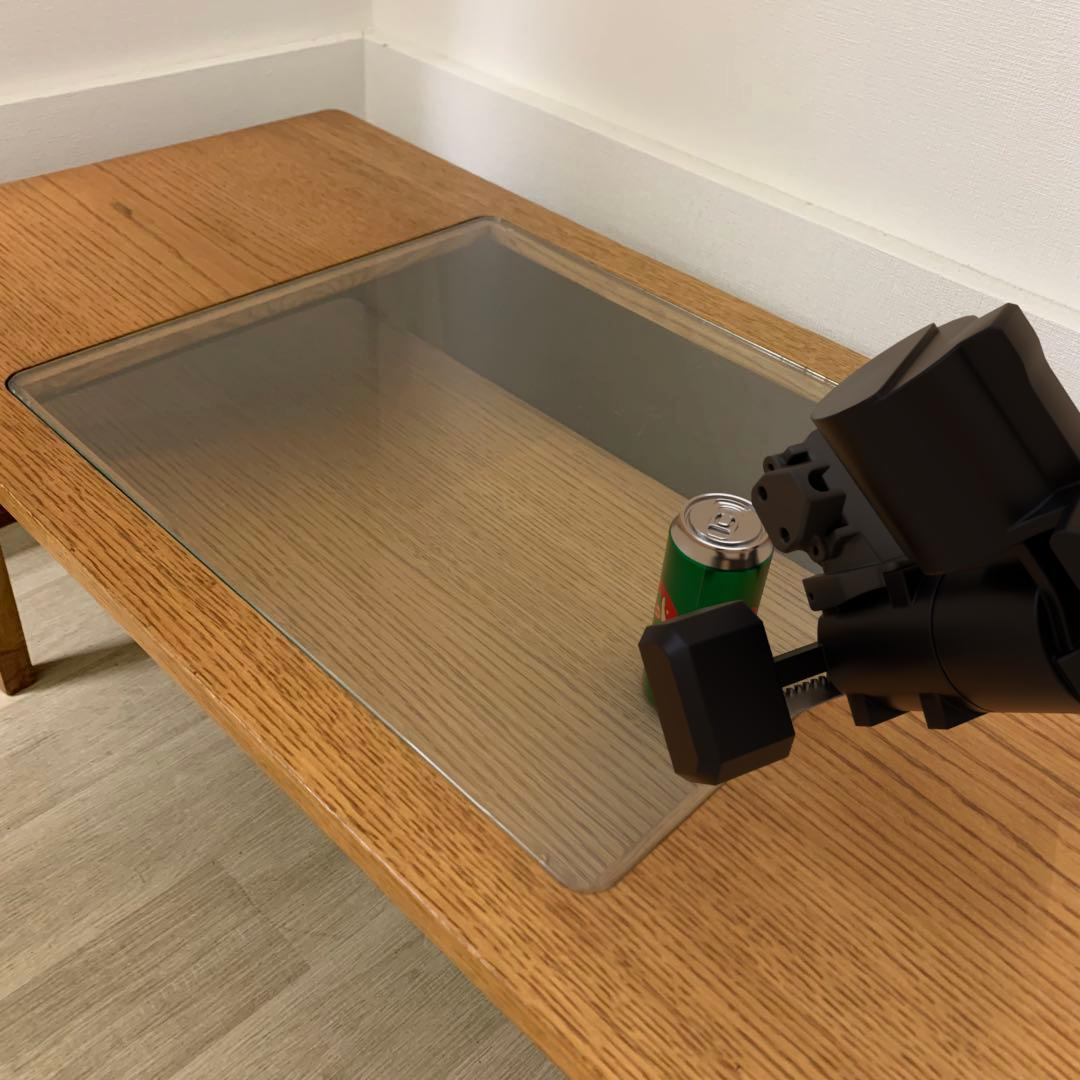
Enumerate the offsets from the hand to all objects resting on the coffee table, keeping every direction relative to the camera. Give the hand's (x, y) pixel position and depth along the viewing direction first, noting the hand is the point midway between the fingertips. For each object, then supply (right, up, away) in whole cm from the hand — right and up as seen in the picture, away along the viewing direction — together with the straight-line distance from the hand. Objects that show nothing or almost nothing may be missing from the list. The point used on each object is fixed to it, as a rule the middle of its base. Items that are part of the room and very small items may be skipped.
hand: (752, 647), depth 53 cm
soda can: (-2, -3, +8) cm, 9 cm away
